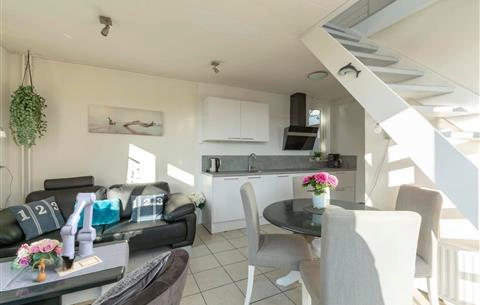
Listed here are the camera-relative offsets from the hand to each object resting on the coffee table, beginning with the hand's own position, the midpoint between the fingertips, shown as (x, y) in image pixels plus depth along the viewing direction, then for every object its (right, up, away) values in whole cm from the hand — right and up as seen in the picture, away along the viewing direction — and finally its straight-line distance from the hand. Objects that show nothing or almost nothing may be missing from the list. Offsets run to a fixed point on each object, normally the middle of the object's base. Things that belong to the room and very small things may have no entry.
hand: (68, 267), depth 130 cm
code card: (+4, -2, +5) cm, 6 cm away
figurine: (-6, -1, -11) cm, 13 cm away
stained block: (0, -1, 0) cm, 1 cm away
